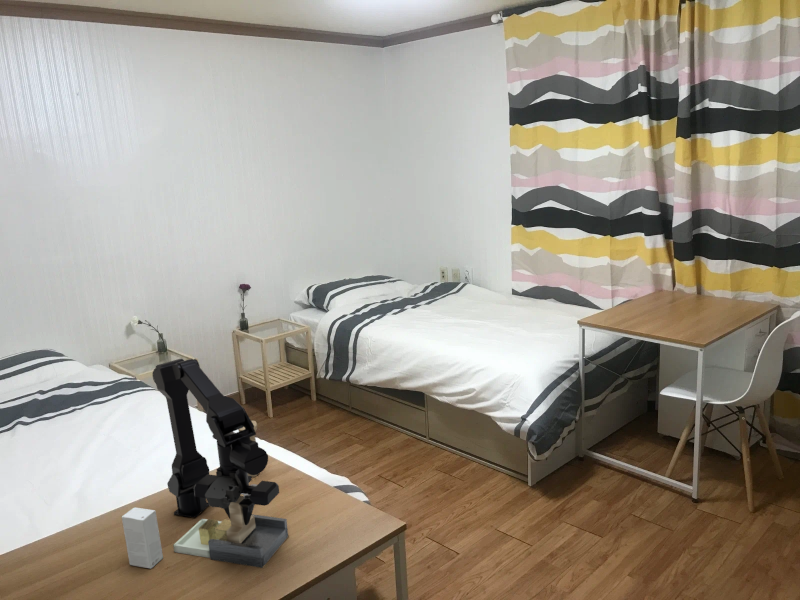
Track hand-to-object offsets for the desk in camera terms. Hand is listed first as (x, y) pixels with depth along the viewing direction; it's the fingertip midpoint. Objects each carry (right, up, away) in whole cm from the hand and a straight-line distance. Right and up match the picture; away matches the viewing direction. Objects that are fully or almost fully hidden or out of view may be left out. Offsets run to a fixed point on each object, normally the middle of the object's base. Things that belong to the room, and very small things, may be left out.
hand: (240, 523), depth 144 cm
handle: (-5, +1, +35) cm, 35 cm away
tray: (-9, -6, +4) cm, 11 cm away
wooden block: (-7, -3, +3) cm, 8 cm away
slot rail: (+2, -6, +1) cm, 6 cm away
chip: (-3, -3, +2) cm, 5 cm away
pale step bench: (0, -3, +1) cm, 3 cm away
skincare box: (-20, -8, -2) cm, 22 cm away
